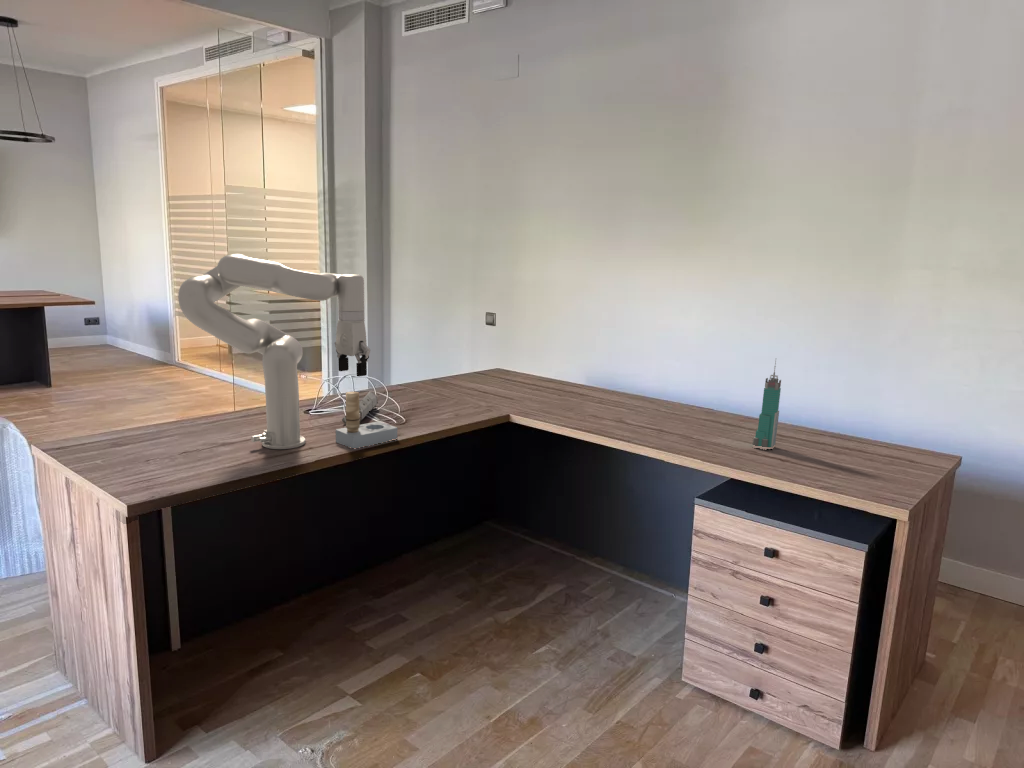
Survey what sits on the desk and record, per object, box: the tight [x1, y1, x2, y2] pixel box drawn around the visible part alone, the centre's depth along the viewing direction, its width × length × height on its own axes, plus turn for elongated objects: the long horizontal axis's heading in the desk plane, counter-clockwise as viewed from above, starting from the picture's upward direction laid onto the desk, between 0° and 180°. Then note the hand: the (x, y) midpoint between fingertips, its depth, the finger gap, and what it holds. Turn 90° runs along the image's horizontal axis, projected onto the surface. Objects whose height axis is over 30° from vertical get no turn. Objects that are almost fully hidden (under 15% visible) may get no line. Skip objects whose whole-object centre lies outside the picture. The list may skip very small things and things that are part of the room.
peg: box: [345, 391, 361, 433], centre depth 214 cm, size 4×4×12 cm
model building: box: [341, 390, 379, 425], centre depth 248 cm, size 7×7×25 cm
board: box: [335, 420, 398, 449], centre depth 219 cm, size 16×10×4 cm, turn 135°
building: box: [752, 359, 782, 447], centre depth 224 cm, size 6×6×30 cm
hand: (352, 373), depth 212 cm, fingers open, 9 cm apart
